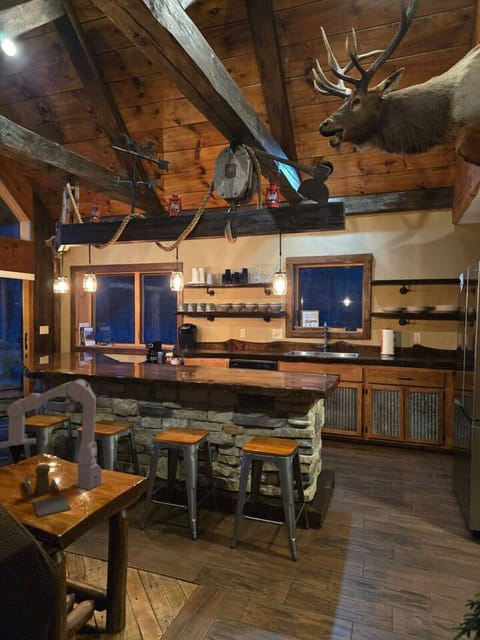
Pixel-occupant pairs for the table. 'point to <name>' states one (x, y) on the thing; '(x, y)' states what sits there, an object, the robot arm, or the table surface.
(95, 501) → the table surface
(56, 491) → the rail
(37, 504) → the mat
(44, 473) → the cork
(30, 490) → the bar
